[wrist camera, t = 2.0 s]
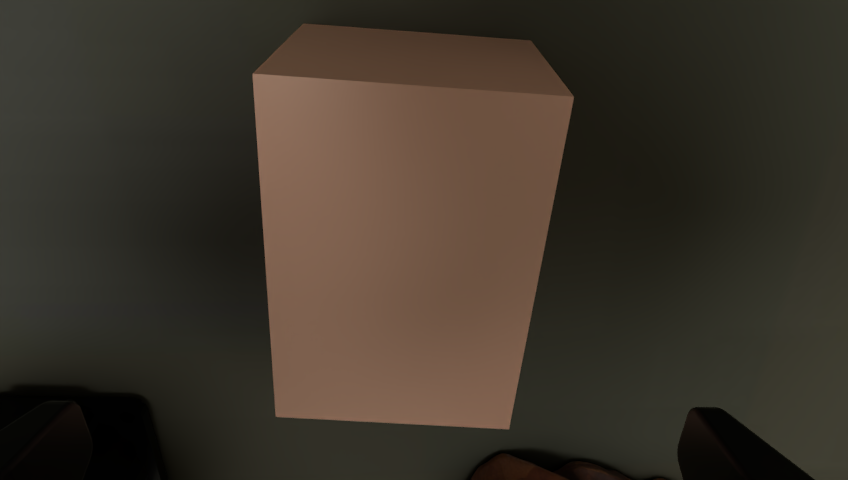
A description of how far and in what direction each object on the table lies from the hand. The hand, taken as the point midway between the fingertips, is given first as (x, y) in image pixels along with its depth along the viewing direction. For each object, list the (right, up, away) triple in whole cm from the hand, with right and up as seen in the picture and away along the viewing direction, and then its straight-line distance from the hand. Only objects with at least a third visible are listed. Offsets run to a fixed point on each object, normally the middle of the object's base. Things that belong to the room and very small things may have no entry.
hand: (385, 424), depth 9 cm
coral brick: (0, +4, +8) cm, 9 cm away
